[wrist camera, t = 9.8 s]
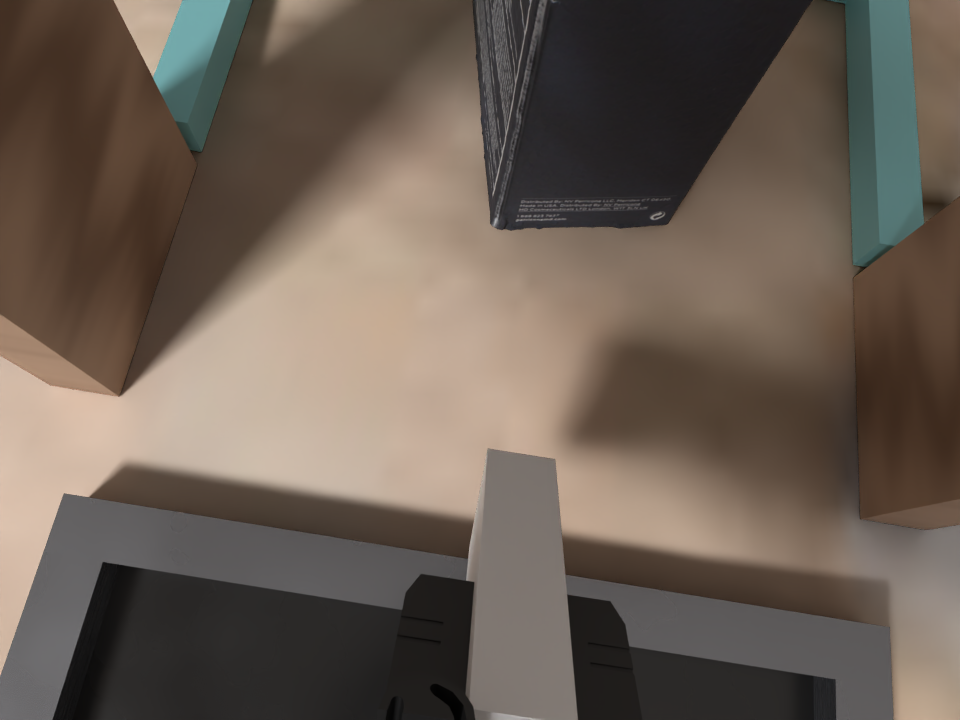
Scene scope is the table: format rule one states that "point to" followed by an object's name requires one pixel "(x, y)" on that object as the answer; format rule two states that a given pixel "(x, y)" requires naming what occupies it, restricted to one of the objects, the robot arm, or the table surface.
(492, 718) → the robot arm
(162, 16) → the table surface
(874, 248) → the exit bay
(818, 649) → the pit plate
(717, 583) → the table surface
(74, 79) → the tunnel
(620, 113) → the small box
